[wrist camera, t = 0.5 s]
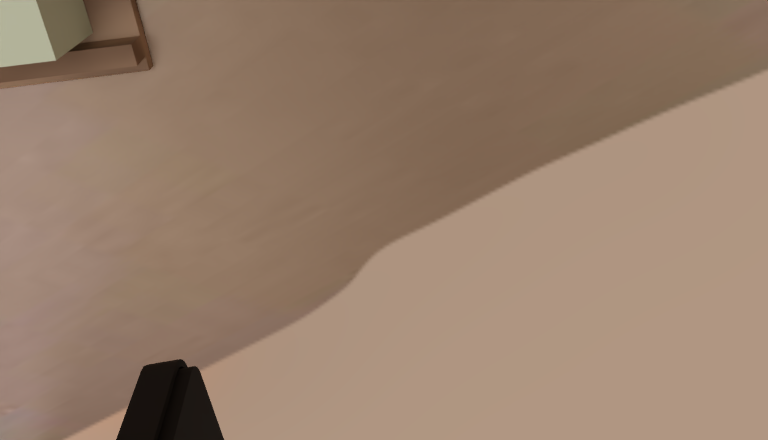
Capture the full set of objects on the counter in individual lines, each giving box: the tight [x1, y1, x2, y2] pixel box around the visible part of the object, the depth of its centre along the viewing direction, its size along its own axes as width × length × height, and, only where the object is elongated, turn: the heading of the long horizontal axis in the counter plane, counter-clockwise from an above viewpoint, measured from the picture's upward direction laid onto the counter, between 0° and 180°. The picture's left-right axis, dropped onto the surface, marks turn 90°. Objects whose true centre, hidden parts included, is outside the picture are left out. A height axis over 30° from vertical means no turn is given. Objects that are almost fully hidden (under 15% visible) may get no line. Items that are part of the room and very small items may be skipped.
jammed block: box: [0, 0, 93, 67], centre depth 35 cm, size 5×5×6 cm
